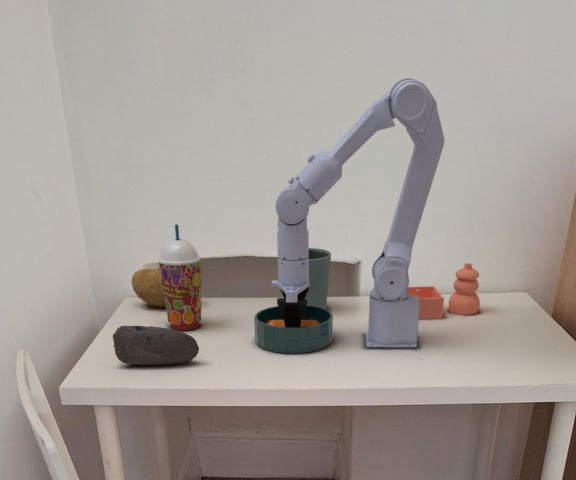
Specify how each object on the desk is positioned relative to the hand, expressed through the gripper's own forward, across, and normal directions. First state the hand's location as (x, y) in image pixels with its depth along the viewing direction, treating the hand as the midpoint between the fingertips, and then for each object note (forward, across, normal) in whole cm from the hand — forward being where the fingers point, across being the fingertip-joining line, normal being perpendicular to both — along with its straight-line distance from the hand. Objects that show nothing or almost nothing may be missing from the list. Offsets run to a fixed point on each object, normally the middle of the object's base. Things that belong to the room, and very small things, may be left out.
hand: (293, 329), depth 145 cm
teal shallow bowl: (+2, 0, 0) cm, 2 cm away
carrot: (+2, 0, 0) cm, 2 cm away
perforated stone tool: (+2, +13, -24) cm, 27 cm away
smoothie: (+2, -9, -23) cm, 25 cm away
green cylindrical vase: (+2, -21, +2) cm, 21 cm away
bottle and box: (+2, -20, +30) cm, 36 cm away
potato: (+2, -24, -30) cm, 38 cm away
